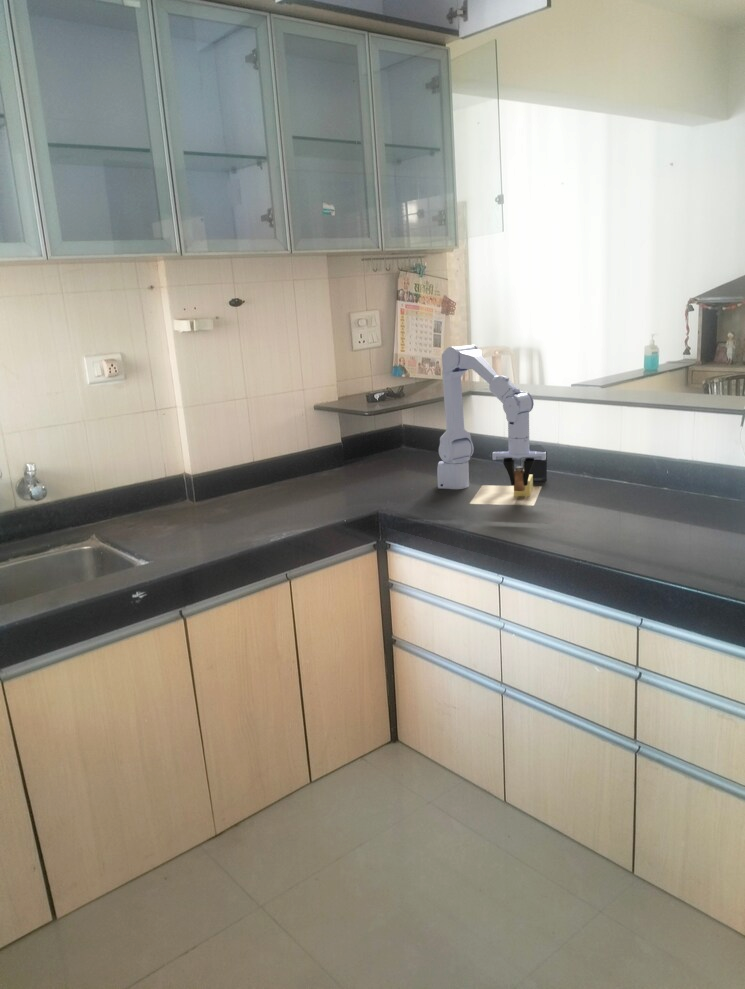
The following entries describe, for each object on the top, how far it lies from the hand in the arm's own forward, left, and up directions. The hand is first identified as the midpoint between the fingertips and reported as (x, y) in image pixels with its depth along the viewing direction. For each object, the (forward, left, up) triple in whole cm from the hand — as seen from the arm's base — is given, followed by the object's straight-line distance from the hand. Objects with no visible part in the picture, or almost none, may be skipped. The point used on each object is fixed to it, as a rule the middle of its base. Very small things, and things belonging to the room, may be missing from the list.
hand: (519, 484), depth 212 cm
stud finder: (0, +9, -5) cm, 10 cm away
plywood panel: (-5, +6, -6) cm, 9 cm away
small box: (+1, +28, -6) cm, 29 cm away
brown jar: (0, 0, -2) cm, 2 cm away
